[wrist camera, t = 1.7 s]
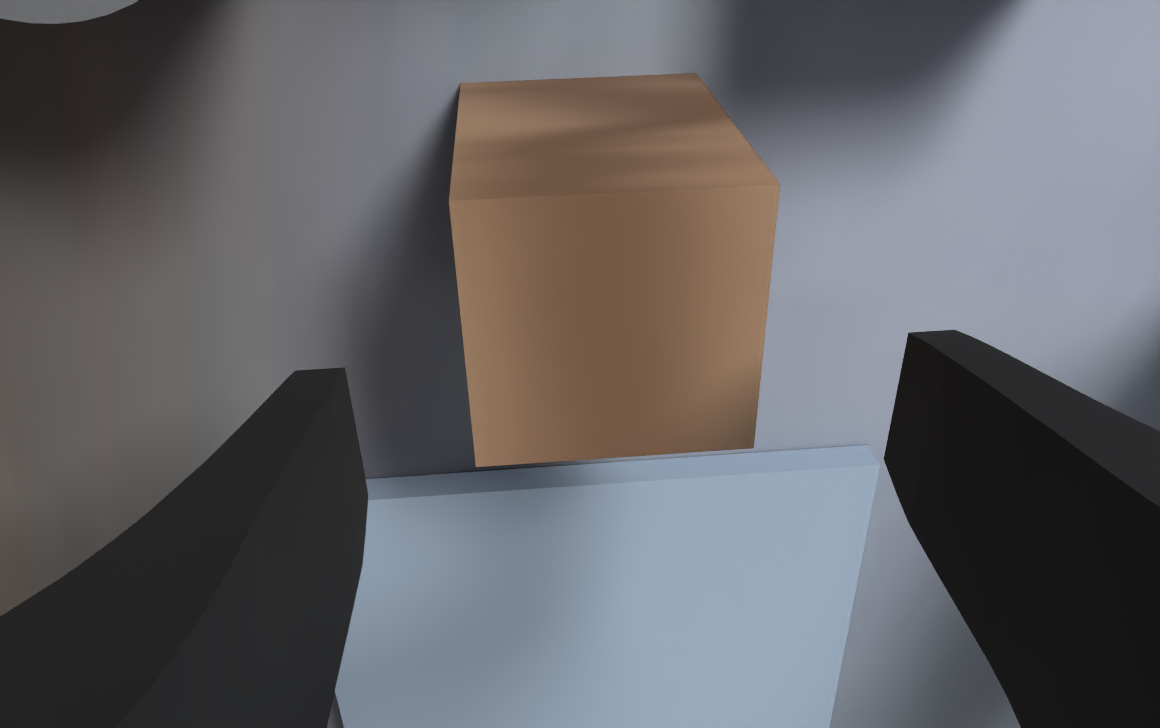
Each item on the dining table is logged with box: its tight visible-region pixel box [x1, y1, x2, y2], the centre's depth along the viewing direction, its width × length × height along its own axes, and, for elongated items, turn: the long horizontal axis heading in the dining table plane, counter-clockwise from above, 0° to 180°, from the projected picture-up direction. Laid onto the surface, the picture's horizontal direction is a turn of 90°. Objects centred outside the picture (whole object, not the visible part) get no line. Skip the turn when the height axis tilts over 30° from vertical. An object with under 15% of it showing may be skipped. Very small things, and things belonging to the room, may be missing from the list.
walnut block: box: [449, 73, 780, 467], centre depth 16 cm, size 4×4×6 cm
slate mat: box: [335, 445, 880, 728], centre depth 26 cm, size 14×14×1 cm
